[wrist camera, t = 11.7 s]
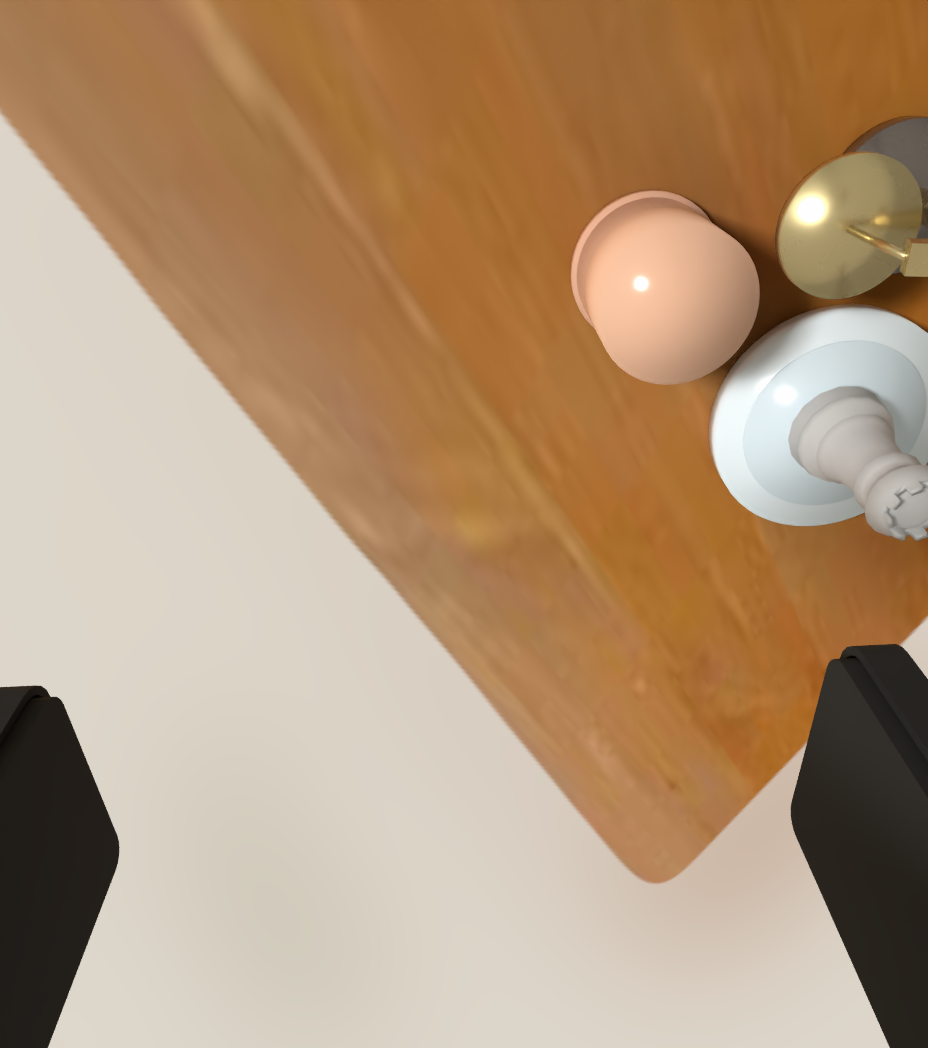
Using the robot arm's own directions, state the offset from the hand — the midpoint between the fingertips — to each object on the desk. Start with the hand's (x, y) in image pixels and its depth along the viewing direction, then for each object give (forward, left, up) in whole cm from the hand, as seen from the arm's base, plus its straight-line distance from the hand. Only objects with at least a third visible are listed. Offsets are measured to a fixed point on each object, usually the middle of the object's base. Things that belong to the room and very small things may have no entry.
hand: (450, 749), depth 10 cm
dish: (+9, +18, -28) cm, 35 cm away
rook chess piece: (+9, +18, -27) cm, 34 cm away
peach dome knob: (+2, +9, -28) cm, 30 cm away
